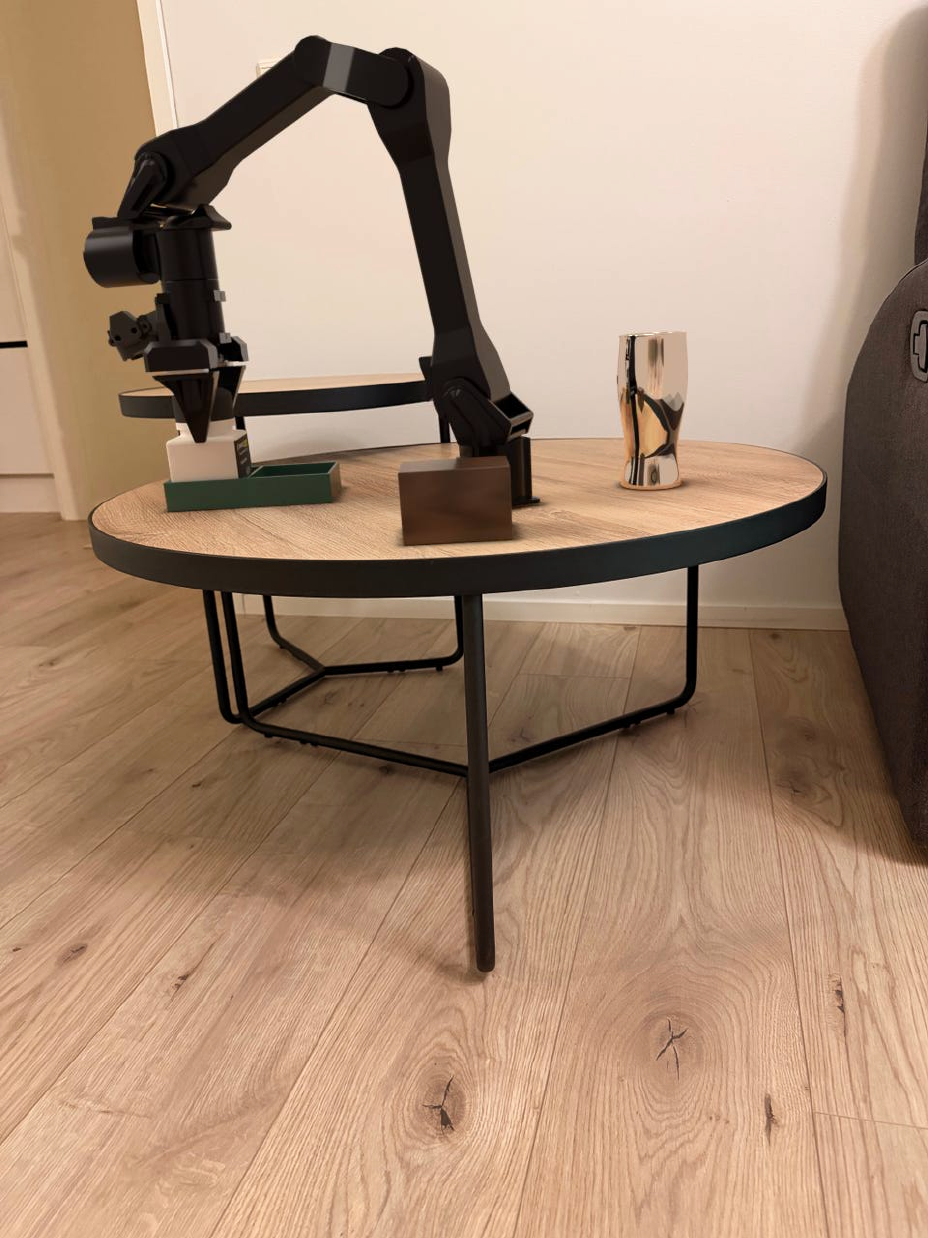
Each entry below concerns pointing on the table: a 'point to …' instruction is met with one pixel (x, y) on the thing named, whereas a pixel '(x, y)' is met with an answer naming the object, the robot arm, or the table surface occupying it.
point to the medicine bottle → (210, 446)
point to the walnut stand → (455, 500)
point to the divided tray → (259, 488)
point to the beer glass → (652, 406)
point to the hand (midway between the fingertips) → (211, 437)
